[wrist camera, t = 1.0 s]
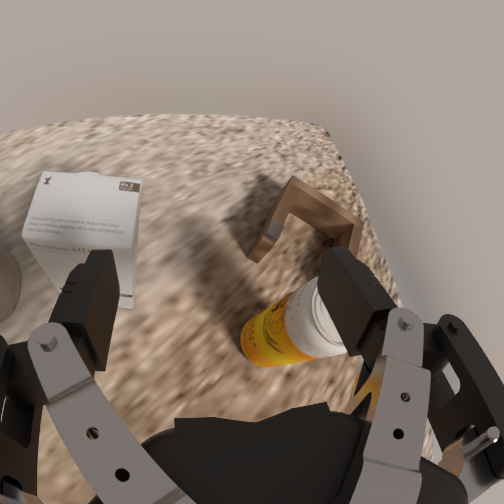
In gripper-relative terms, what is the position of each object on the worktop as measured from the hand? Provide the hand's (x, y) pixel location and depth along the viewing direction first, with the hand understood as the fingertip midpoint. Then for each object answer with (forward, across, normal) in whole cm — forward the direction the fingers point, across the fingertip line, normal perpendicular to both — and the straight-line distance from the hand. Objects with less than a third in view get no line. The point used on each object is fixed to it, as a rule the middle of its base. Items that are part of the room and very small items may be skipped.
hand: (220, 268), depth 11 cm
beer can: (+12, -7, +20) cm, 24 cm away
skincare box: (+16, +11, +14) cm, 24 cm away
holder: (+22, -13, +14) cm, 29 cm away
